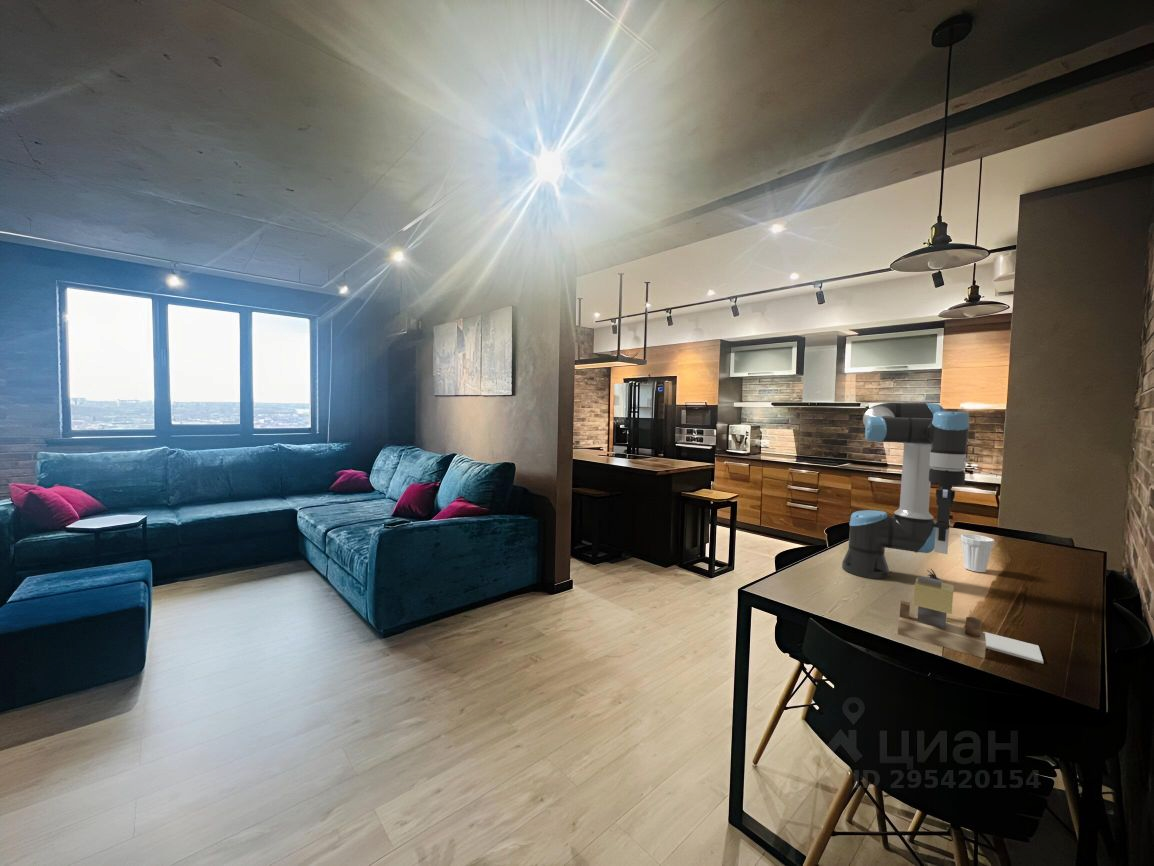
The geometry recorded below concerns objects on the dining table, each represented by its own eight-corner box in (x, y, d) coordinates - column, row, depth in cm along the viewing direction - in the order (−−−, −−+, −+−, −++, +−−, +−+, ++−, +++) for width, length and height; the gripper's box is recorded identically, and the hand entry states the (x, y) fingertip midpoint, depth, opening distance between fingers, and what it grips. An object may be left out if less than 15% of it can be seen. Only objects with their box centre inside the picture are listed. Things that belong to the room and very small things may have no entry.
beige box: (913, 604, 124) (915, 579, 123) (915, 598, 128) (917, 573, 128) (951, 614, 119) (953, 587, 118) (951, 606, 123) (953, 580, 123)
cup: (988, 569, 180) (991, 536, 179) (994, 577, 172) (997, 543, 171) (956, 564, 185) (958, 532, 185) (960, 571, 177) (963, 538, 176)
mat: (983, 647, 120) (984, 645, 120) (982, 633, 127) (982, 631, 127) (1043, 663, 113) (1043, 661, 113) (1038, 647, 120) (1038, 645, 120)
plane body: (897, 633, 126) (899, 602, 125) (900, 624, 131) (902, 594, 131) (984, 658, 114) (987, 623, 114) (983, 647, 120) (986, 614, 119)
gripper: (966, 475, 110) (959, 561, 111) (964, 466, 129) (959, 540, 130) (927, 471, 115) (921, 554, 116) (931, 463, 134) (926, 535, 135)
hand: (941, 547), depth 123 cm, fingers open, 13 cm apart
